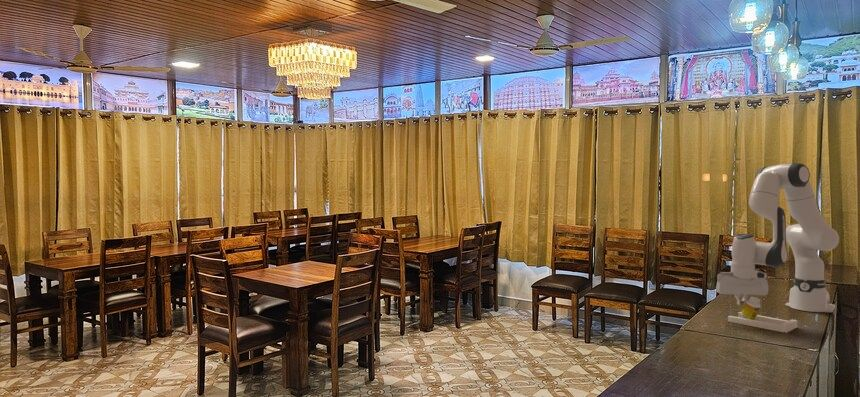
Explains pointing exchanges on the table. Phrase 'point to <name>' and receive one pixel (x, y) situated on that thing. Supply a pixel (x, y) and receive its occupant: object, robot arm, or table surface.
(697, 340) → the table surface
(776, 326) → the u rest
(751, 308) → the supplement bottle
